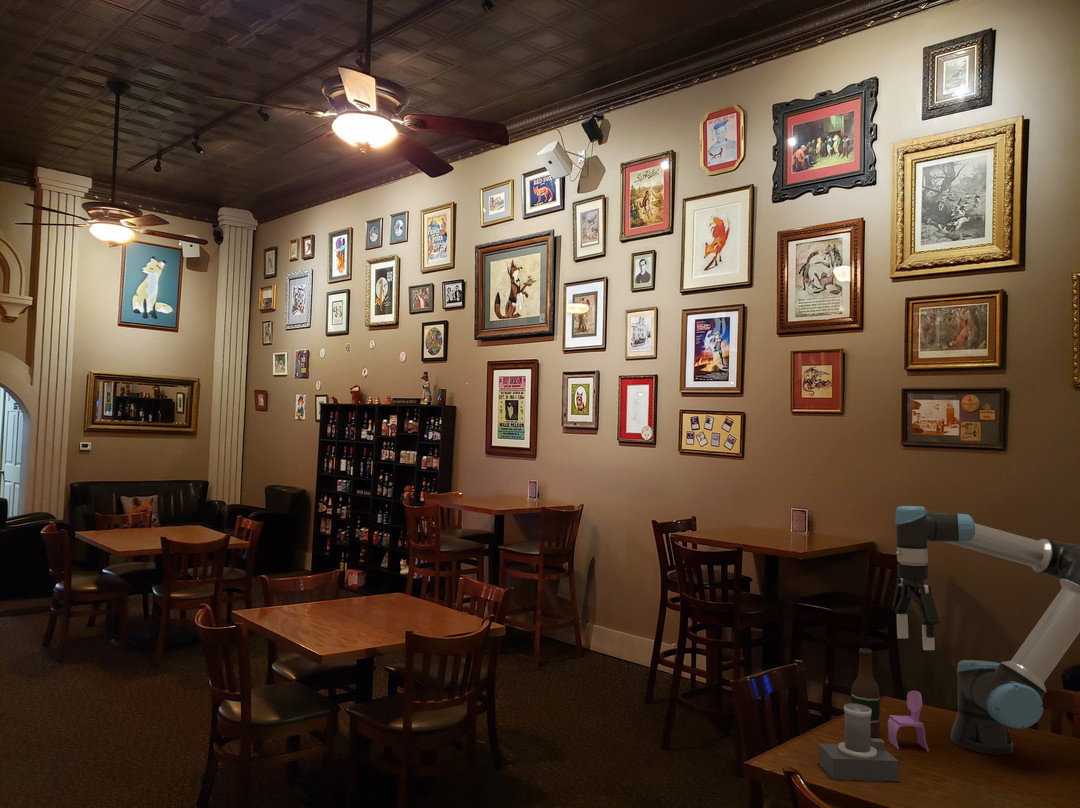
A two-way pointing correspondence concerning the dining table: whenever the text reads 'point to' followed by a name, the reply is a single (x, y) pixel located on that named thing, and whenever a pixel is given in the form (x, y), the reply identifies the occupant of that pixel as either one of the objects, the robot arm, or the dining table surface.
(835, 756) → the camera body block
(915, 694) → the toy chair
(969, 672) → the robot arm
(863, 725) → the lens
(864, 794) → the dining table surface
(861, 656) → the beer bottle
